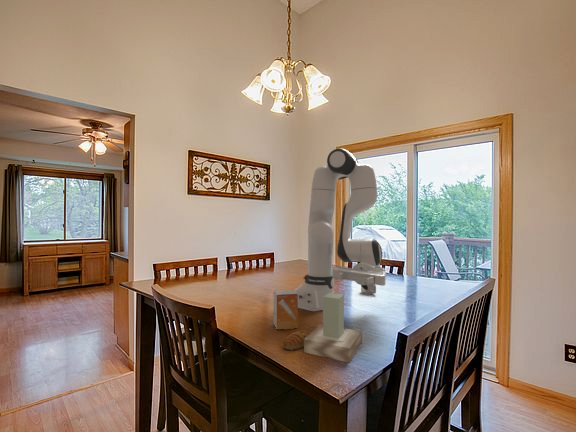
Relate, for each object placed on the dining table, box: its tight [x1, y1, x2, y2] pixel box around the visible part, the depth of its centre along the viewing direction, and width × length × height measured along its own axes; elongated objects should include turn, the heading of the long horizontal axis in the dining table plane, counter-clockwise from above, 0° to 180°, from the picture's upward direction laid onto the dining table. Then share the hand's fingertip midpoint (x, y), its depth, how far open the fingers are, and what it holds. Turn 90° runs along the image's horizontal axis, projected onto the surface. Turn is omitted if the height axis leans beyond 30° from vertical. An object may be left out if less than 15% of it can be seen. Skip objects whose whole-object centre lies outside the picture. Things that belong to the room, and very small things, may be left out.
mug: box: [360, 284, 377, 295], centre depth 159 cm, size 10×7×7 cm, turn 22°
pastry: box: [282, 329, 309, 351], centre depth 96 cm, size 9×7×4 cm
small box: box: [273, 289, 299, 330], centre depth 112 cm, size 8×6×13 cm
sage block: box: [322, 292, 345, 338], centre depth 94 cm, size 5×5×12 cm
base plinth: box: [303, 323, 363, 363], centre depth 94 cm, size 14×14×4 cm
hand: (353, 279), depth 109 cm, fingers open, 8 cm apart
